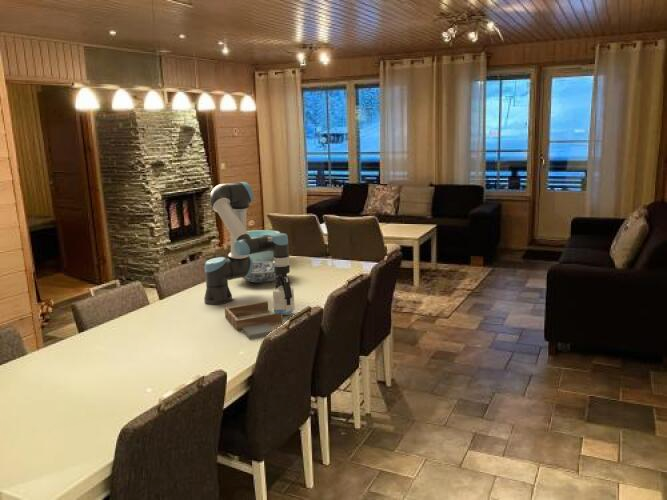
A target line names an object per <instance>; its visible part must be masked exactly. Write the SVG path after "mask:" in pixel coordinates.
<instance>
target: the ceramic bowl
mask: <svg viewBox="0 0 667 500" xmlns="http://www.w3.org/2000/svg"><path fill="white" fill-rule="evenodd" d="M274 266H275V265H274V261H273V260H271V261H260V262H253V271H252V273H251V274H250V275H249V276H246V277H244V278H242V279H244V280H245V281H248V282H251V283H268V282H273V281H276V274H275V272H274Z"/></svg>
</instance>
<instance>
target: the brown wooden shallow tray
mask: <svg viewBox="0 0 667 500" xmlns="http://www.w3.org/2000/svg"><path fill="white" fill-rule="evenodd" d="M266 312H269V301H267V300H266V301H260V302H255V303H250V304H249V303H247V304H242V305H236V306H231V307H224V315H225V316H224V317H225V319H226V320H227V321H228V323H229V324H230V325H231V326H232V327H233V329H234V330H235V331H236V332H241V331H242V327H247V326H252V325H258V324H264V323H268V324H269V325H270V326H275V325H281V324H283V315H282V313H281V312H280V313H274V312H273V313H270V314H269V313H268V314H263V315H257V316H251V317H245V318H238V317H244V316H249V315H255V314H261V313H266Z"/></svg>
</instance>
